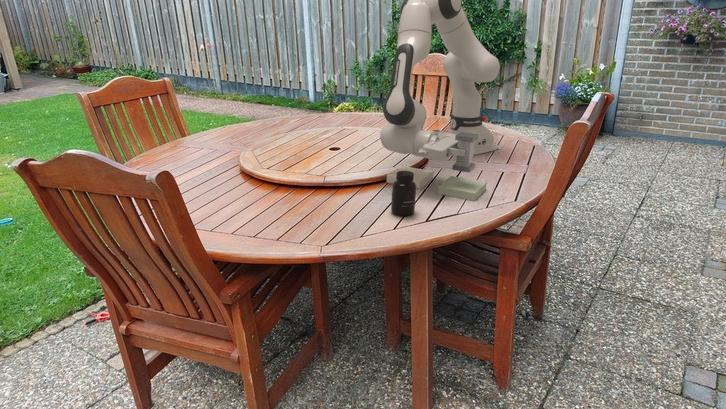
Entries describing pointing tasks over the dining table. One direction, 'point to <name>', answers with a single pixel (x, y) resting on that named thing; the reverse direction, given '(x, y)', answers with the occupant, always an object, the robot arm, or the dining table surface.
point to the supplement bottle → (403, 194)
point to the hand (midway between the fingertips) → (468, 150)
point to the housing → (466, 143)
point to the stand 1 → (419, 175)
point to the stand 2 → (462, 188)
